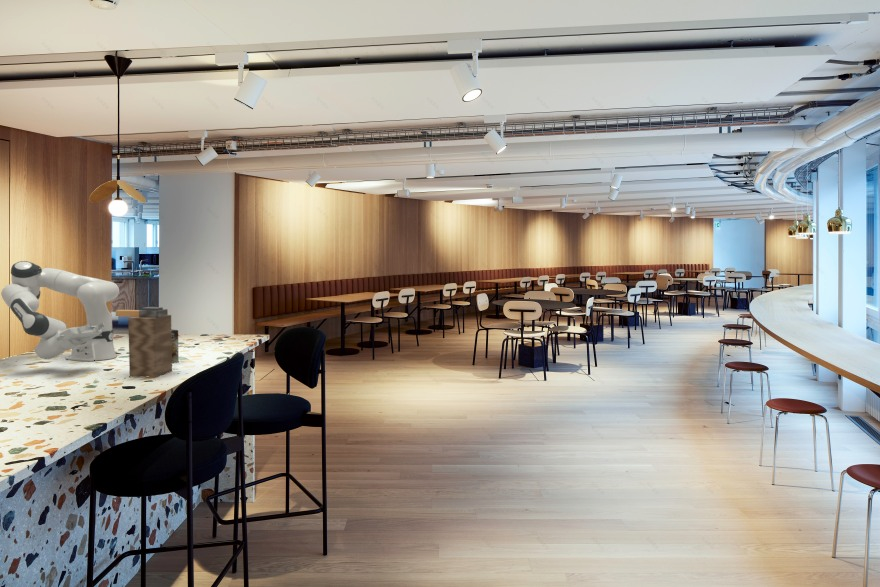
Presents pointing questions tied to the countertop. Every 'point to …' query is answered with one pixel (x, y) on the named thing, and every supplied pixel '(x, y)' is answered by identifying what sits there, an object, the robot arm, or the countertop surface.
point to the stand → (150, 343)
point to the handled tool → (136, 311)
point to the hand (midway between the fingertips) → (96, 325)
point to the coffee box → (174, 346)
